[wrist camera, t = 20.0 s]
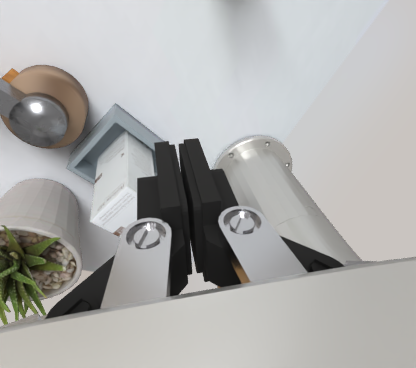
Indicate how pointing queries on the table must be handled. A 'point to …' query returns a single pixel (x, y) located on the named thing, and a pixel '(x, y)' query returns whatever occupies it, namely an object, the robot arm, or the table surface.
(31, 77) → the crank pedestal
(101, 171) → the skincare box
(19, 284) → the potted plant
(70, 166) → the tray
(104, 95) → the table surface
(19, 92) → the crank
